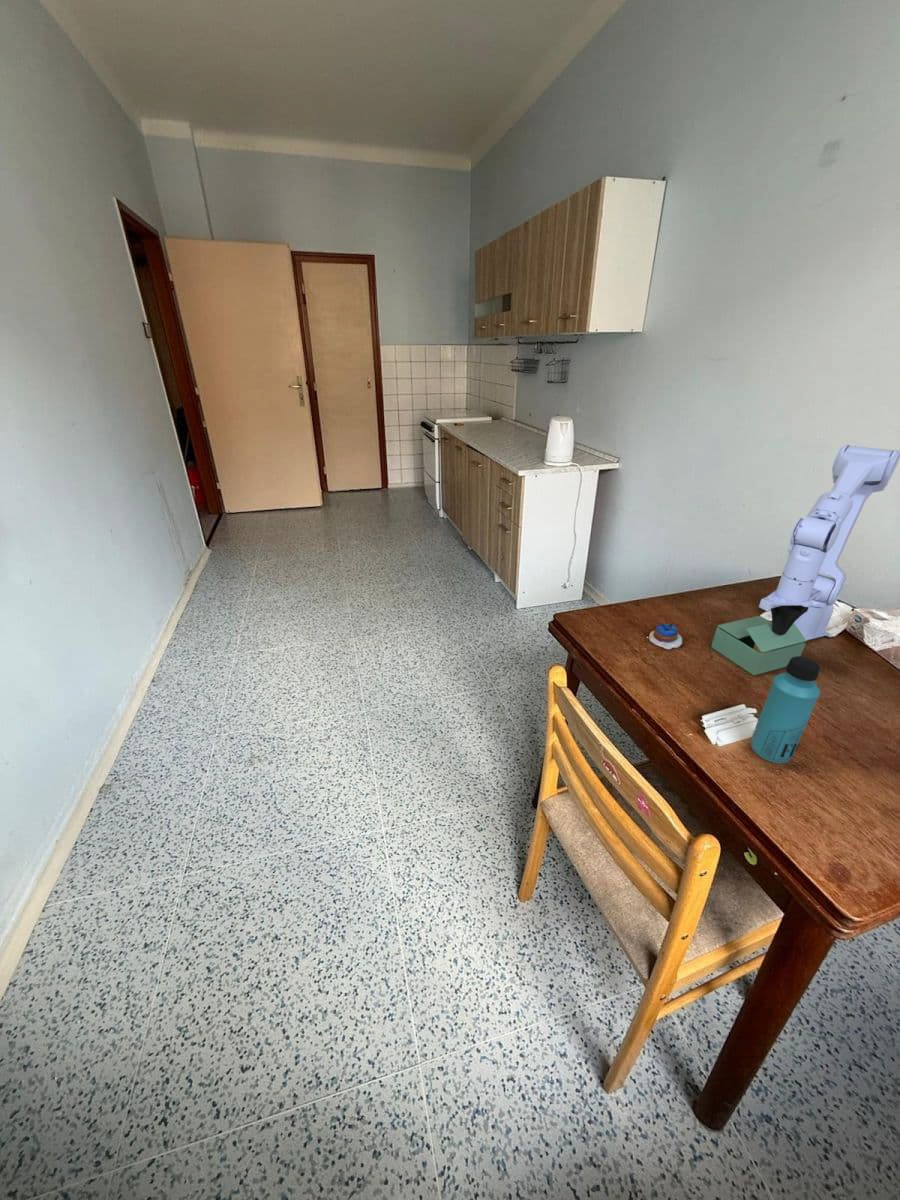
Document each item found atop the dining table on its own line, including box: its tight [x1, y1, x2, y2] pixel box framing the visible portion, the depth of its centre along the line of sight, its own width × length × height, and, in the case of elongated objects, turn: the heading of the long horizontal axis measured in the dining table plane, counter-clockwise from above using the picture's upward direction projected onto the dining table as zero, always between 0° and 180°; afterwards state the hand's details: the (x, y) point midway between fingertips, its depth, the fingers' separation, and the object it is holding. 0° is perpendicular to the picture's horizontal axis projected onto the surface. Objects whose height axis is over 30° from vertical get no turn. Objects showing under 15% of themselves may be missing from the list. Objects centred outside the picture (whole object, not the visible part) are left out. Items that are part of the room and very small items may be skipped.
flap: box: [746, 623, 807, 653], centre depth 102 cm, size 13×6×1 cm
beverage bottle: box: [749, 656, 821, 764], centre depth 77 cm, size 6×7×20 cm
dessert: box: [648, 623, 683, 650], centre depth 114 cm, size 8×7×6 cm
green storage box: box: [711, 615, 806, 676], centre depth 107 cm, size 13×12×6 cm
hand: (778, 632), depth 102 cm, fingers closed
